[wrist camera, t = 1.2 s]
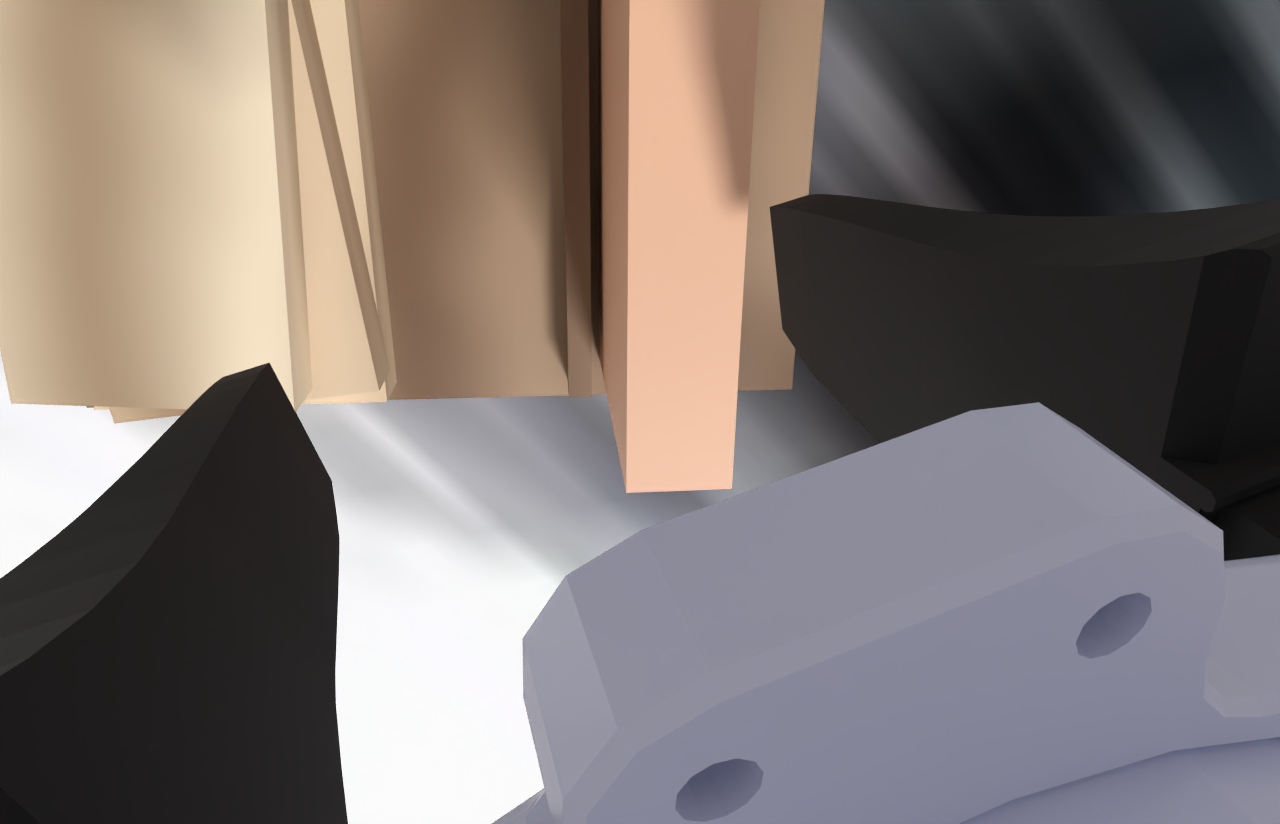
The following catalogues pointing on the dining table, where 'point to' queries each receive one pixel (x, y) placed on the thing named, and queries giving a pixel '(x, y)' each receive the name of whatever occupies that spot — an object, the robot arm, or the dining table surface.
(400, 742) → the dining table surface
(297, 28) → the plywood offcut stack
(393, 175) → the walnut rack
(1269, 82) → the dining table surface
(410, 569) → the dining table surface
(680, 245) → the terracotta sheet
